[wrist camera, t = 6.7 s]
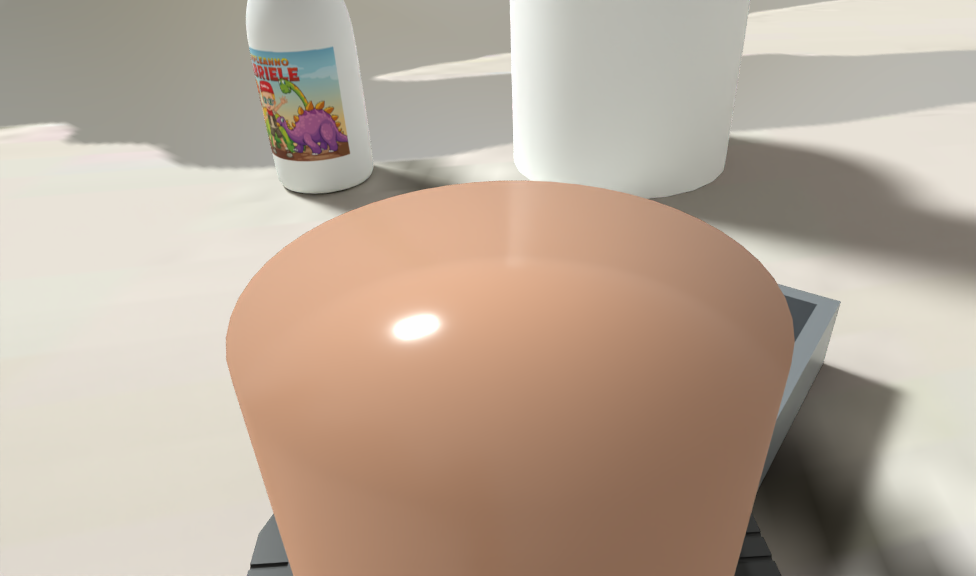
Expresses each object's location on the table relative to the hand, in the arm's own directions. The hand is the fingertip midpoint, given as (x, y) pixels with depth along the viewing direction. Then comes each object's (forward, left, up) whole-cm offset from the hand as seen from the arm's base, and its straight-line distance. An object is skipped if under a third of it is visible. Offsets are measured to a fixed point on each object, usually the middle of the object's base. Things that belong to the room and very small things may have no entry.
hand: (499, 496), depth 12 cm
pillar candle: (+2, -2, -8) cm, 8 cm away
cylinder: (-19, +42, -12) cm, 48 cm away
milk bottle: (-37, +26, -12) cm, 47 cm away
